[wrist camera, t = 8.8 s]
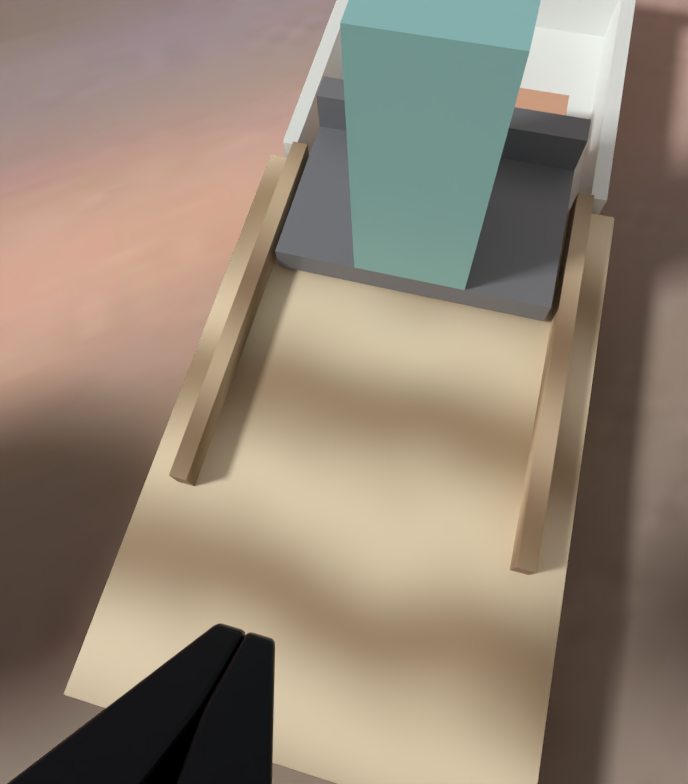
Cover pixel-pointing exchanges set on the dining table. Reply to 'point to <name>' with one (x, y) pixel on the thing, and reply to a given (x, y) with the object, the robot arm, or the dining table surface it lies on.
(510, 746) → the board
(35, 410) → the dining table surface
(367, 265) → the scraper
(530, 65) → the tray
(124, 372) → the dining table surface
